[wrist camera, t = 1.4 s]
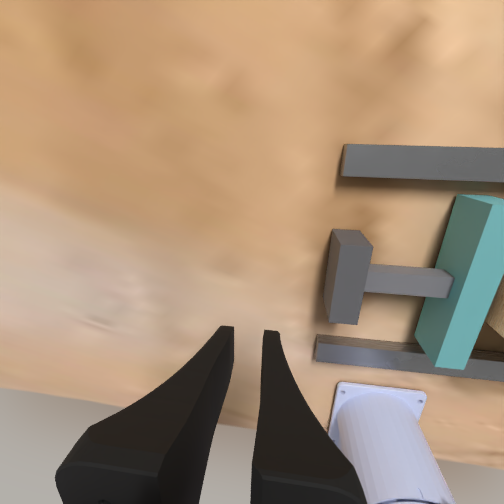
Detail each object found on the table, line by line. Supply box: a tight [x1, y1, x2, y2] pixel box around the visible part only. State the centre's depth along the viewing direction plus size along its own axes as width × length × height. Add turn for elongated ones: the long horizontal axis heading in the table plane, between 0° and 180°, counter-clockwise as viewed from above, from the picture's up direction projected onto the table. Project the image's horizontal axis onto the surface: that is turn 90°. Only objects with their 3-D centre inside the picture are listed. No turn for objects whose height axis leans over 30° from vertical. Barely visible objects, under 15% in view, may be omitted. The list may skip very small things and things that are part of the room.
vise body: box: [315, 144, 504, 382], centre depth 19 cm, size 18×22×4 cm
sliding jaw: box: [323, 194, 504, 370], centre depth 20 cm, size 12×10×4 cm
